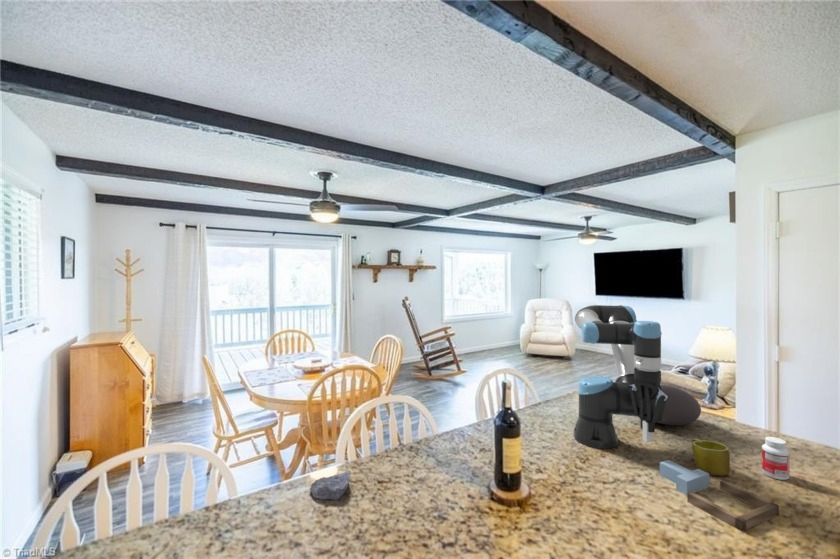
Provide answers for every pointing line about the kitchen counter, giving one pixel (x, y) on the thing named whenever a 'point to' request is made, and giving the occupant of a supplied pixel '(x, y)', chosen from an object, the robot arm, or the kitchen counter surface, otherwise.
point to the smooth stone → (679, 407)
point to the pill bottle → (775, 458)
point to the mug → (711, 457)
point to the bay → (741, 522)
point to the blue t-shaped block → (684, 477)
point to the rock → (330, 486)
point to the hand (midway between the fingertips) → (647, 440)
